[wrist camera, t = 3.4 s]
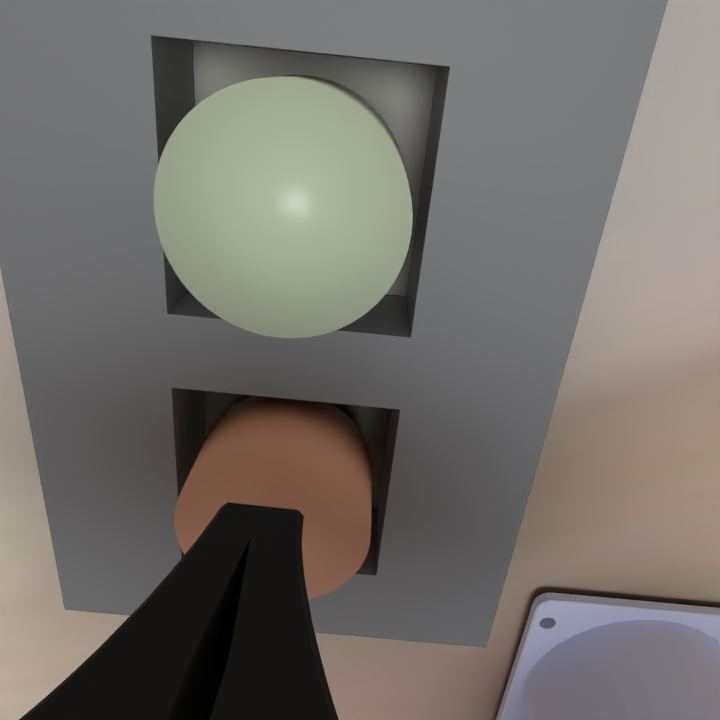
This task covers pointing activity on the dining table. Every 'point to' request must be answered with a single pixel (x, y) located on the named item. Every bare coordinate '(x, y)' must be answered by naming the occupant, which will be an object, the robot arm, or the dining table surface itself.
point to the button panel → (331, 350)
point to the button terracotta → (288, 480)
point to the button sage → (284, 205)
